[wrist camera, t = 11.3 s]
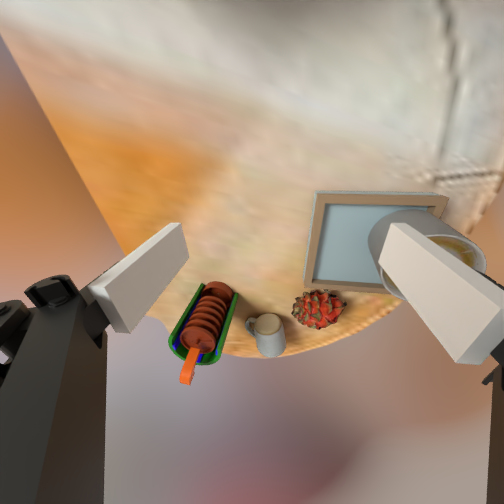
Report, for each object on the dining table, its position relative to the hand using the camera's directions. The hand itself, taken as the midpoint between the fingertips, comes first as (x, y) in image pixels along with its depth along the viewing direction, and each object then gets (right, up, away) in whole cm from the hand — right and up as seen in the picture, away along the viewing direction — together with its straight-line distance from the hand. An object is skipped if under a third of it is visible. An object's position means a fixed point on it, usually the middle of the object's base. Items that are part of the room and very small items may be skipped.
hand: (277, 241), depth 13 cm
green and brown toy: (-10, -12, +37) cm, 40 cm away
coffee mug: (+23, 0, +20) cm, 31 cm away
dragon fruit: (+14, -11, +33) cm, 38 cm away
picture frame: (+18, +2, +25) cm, 31 cm away
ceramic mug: (+2, -20, +40) cm, 45 cm away
